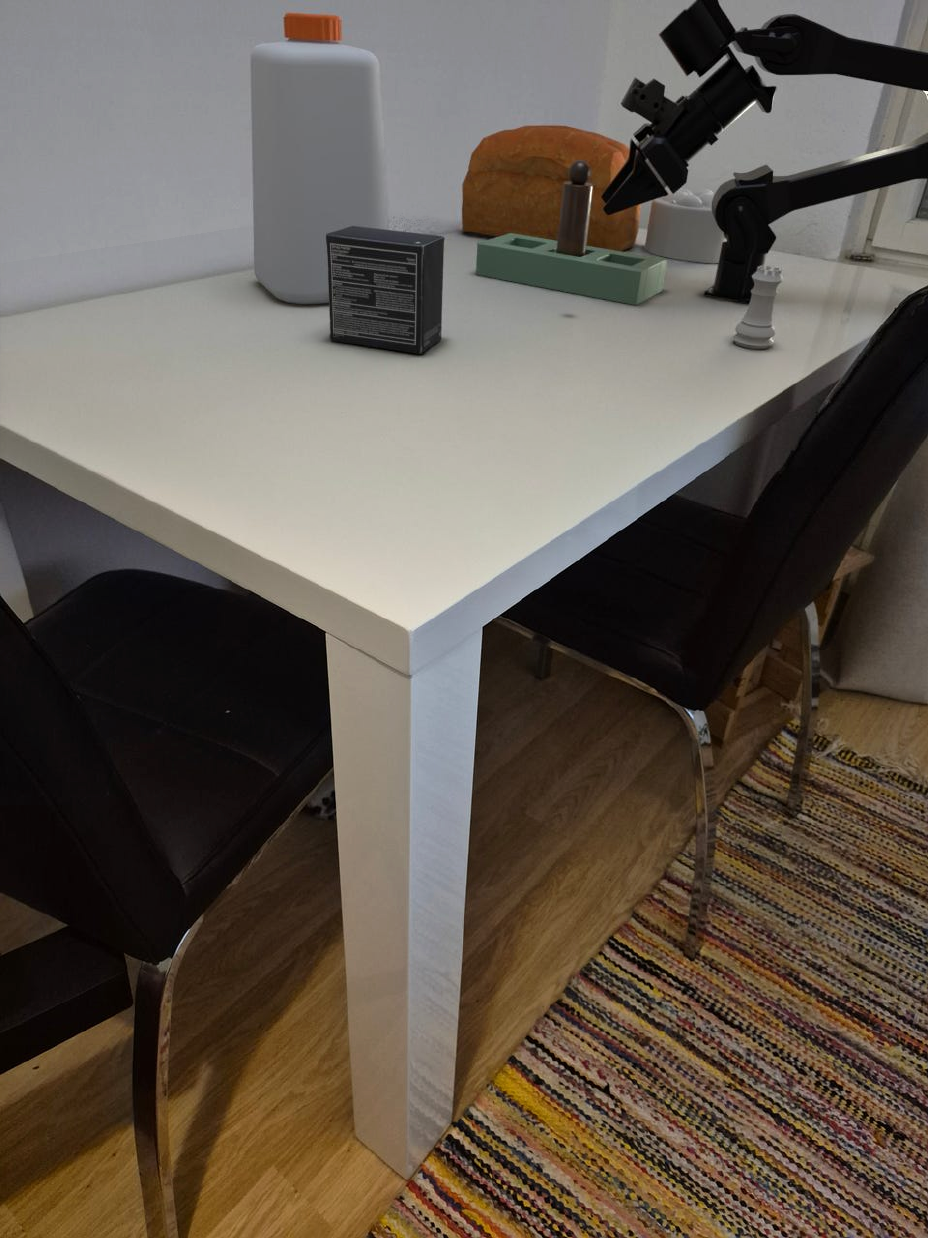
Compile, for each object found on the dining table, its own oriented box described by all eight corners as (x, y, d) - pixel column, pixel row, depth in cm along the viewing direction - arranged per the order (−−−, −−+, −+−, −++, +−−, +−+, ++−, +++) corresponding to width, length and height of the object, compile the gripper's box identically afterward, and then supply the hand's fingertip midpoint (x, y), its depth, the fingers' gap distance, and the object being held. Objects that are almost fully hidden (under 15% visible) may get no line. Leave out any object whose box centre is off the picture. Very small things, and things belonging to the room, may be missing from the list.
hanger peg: (575, 278, 118) (589, 158, 110) (585, 286, 115) (600, 162, 107) (549, 279, 118) (561, 157, 109) (558, 286, 115) (571, 161, 106)
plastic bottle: (360, 270, 116) (355, 15, 101) (403, 300, 105) (405, 19, 90) (248, 277, 111) (224, 8, 95) (280, 309, 100) (259, 11, 84)
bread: (496, 220, 151) (502, 114, 142) (643, 242, 141) (660, 130, 132) (450, 234, 139) (454, 120, 130) (608, 260, 129) (624, 138, 120)
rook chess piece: (775, 341, 98) (794, 267, 94) (769, 352, 95) (788, 275, 90) (735, 335, 100) (751, 261, 95) (728, 345, 96) (744, 269, 92)
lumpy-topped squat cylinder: (718, 265, 129) (731, 201, 125) (634, 252, 134) (644, 190, 129) (735, 253, 137) (748, 192, 132) (656, 241, 142) (665, 182, 137)
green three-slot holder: (508, 262, 124) (510, 232, 122) (662, 291, 115) (667, 259, 113) (475, 274, 118) (477, 242, 116) (636, 305, 108) (641, 271, 106)
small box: (444, 338, 93) (448, 233, 88) (422, 356, 88) (424, 245, 82) (354, 325, 96) (351, 222, 90) (327, 341, 91) (323, 232, 85)
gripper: (662, 49, 109) (564, 144, 116) (676, 52, 93) (562, 162, 100) (713, 124, 113) (616, 212, 120) (735, 140, 97) (621, 240, 104)
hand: (604, 205), depth 111 cm, fingers open, 9 cm apart
